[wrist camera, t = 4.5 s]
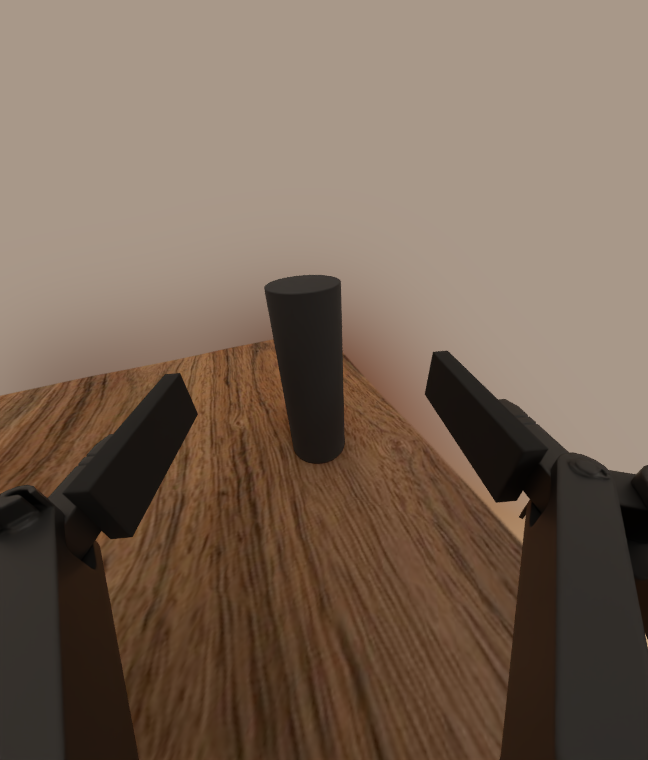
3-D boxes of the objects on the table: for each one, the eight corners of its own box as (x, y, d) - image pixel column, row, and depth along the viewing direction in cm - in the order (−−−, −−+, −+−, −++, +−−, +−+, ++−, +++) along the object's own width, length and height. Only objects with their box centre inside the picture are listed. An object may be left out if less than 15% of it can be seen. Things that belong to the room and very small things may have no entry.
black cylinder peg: (350, 430, 21) (350, 275, 14) (334, 469, 18) (324, 295, 11) (306, 420, 22) (286, 274, 16) (284, 455, 19) (248, 291, 13)
